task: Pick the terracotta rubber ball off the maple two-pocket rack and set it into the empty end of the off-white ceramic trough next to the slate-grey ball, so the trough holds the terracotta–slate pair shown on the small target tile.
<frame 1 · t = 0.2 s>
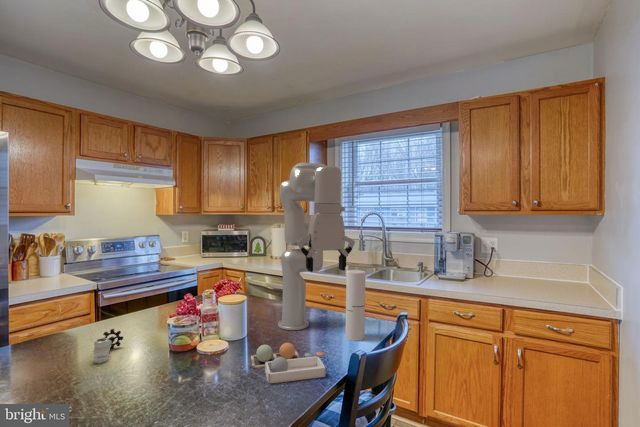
hand: (326, 270, 94), 31 cm above the kitchen island, fingers open, 9 cm apart
cylindrical container: (354, 337, 126), on the kitchen island
trough: (294, 375, 96), on the kitchen island
rack: (275, 361, 104), on the kitchen island
valve: (106, 356, 106), on the kitchen island
ball terracotta: (287, 358, 105), resting on rack
target card: (314, 355, 109), on the kitchen island
ball slate: (279, 375, 95), resting on trough
ball sage: (264, 361, 103), resting on rack
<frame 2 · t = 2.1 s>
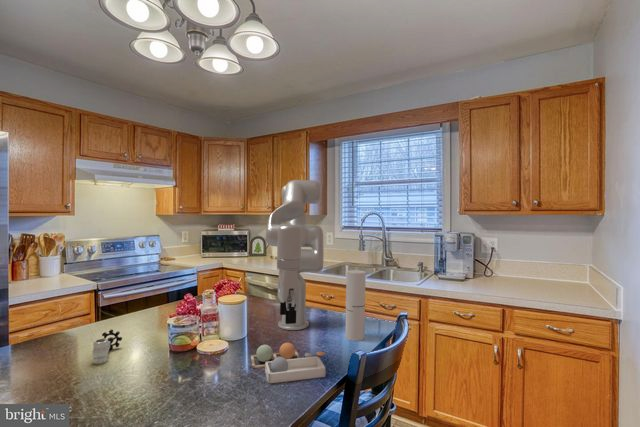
hand: (287, 318, 104), 13 cm above the kitchen island, fingers open, 9 cm apart
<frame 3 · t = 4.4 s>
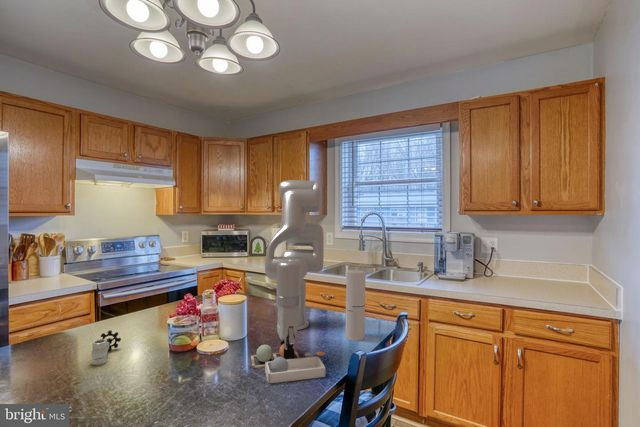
hand: (287, 356, 105), 1 cm above the kitchen island, fingers closed on ball terracotta, 5 cm apart
ball terracotta: (287, 358, 105), resting on rack, touching gripper
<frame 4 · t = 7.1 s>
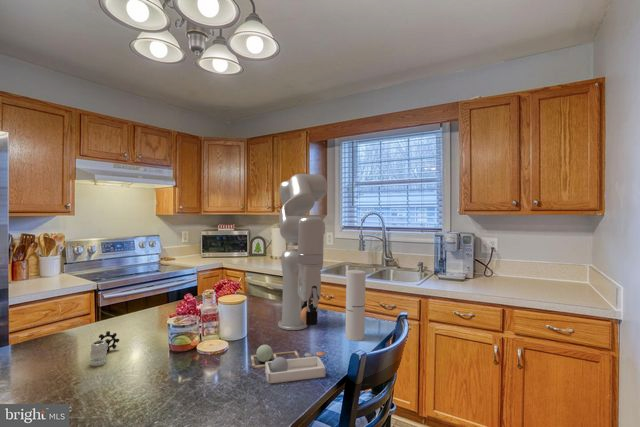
hand: (309, 321, 97), 15 cm above the kitchen island, fingers closed on ball terracotta, 5 cm apart
ball terracotta: (308, 323, 97), point 15 cm above the kitchen island, touching gripper
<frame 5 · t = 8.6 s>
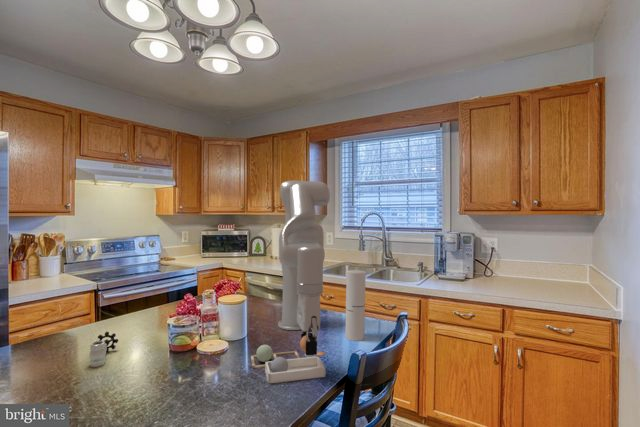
hand: (308, 349, 97), 7 cm above the kitchen island, fingers closed on ball terracotta, 5 cm apart
ball terracotta: (308, 352, 97), point 6 cm above the kitchen island, touching gripper
when the fingers open (4 cm above the kitchen island, at t = 9.6 s): ball terracotta drops 3 cm, resting on trough.
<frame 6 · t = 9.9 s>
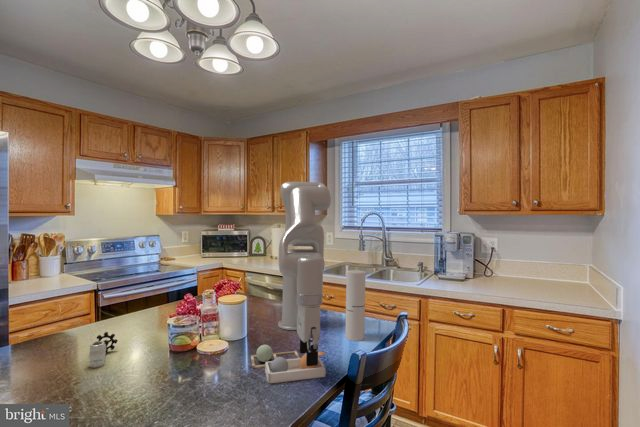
hand: (308, 358, 97), 4 cm above the kitchen island, fingers open, 7 cm apart
ball terracotta: (308, 371, 97), resting on trough
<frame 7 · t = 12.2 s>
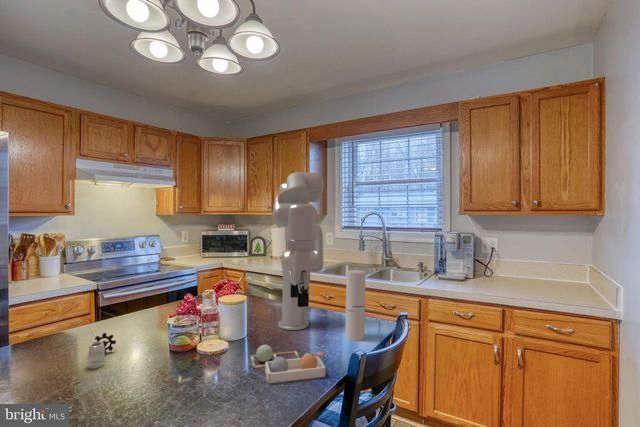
hand: (299, 301, 100), 20 cm above the kitchen island, fingers open, 9 cm apart
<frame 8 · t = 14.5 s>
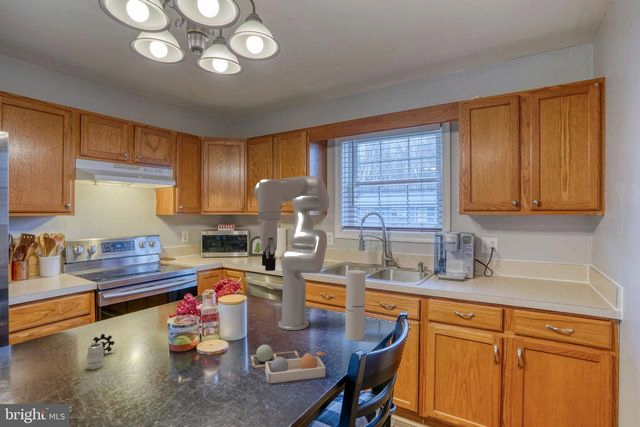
hand: (268, 268, 110), 28 cm above the kitchen island, fingers open, 9 cm apart
at the end: ball terracotta inside the target area on the trough (4.0 cm from its centre), point 0.5 cm above the trough's base; ball slate inside the target area on the trough (4.5 cm from its centre), point 0.5 cm above the trough's base; the gripper is holding nothing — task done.
